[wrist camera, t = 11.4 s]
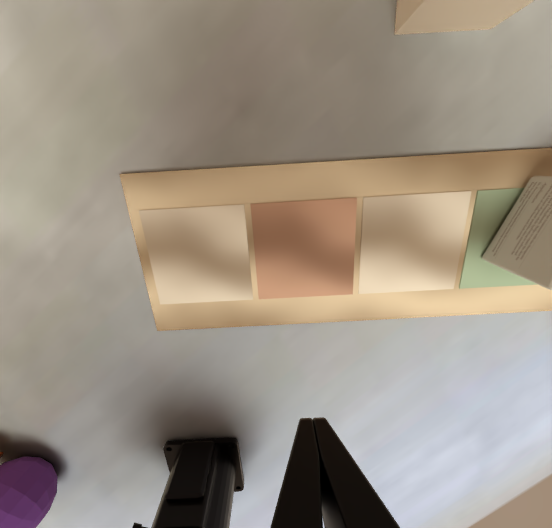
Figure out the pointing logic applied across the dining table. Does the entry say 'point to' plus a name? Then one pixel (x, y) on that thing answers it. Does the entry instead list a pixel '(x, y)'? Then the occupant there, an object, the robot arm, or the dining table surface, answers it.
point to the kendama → (26, 491)
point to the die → (453, 14)
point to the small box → (527, 235)
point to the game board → (331, 239)
